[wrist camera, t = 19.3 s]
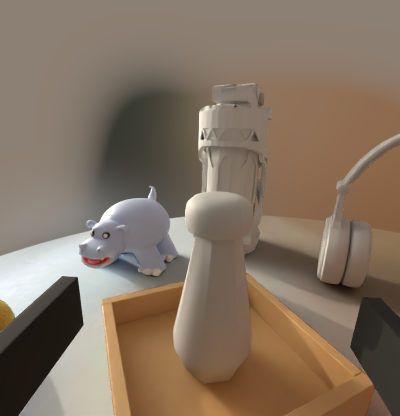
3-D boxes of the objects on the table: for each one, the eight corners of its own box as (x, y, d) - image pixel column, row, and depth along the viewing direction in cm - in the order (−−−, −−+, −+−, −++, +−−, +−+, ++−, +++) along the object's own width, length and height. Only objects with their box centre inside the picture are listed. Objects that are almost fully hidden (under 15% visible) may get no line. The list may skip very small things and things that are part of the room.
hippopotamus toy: (55, 284, 30) (43, 206, 27) (127, 237, 43) (124, 182, 41) (135, 304, 26) (130, 219, 24) (186, 247, 40) (187, 188, 37)
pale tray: (104, 330, 23) (101, 299, 22) (239, 293, 29) (241, 267, 28) (132, 578, 10) (128, 529, 9) (364, 422, 16) (376, 382, 15)
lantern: (253, 262, 36) (271, 67, 29) (186, 249, 39) (188, 72, 32) (264, 232, 48) (279, 87, 41) (212, 224, 51) (218, 89, 44)
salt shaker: (165, 392, 17) (163, 204, 13) (179, 328, 22) (179, 184, 19) (253, 401, 16) (276, 210, 13) (245, 334, 22) (259, 187, 18)
